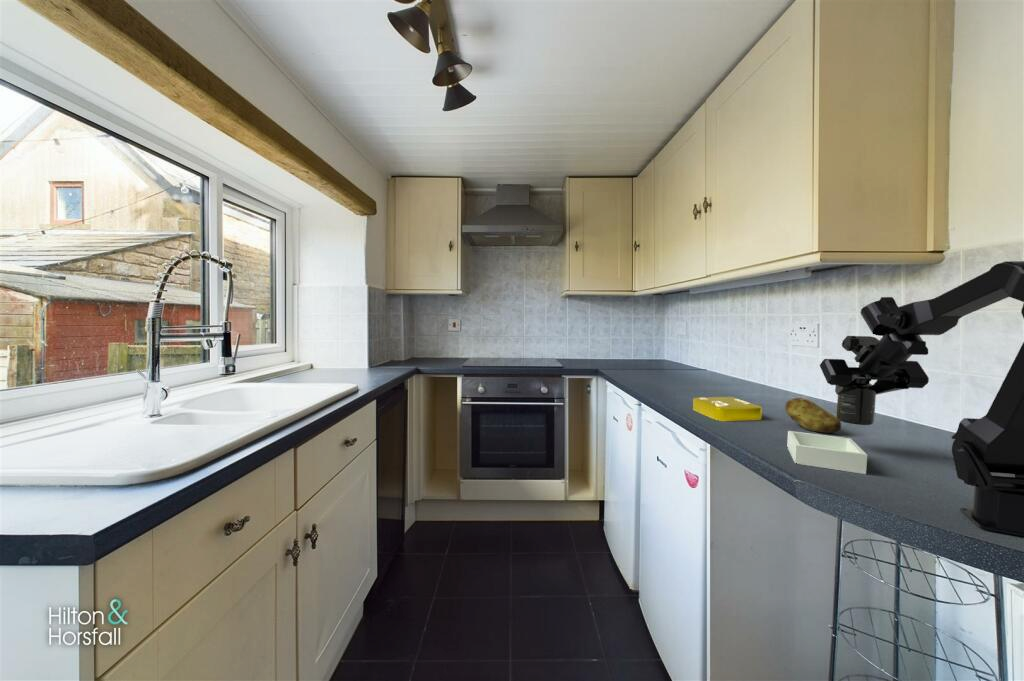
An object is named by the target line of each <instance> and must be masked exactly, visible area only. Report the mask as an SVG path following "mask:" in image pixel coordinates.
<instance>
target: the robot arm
mask: <svg viewBox="0 0 1024 681" xmlns="http://www.w3.org/2000/svg"><path fill="white" fill-rule="evenodd" d="M1008 298H1012V299H1014V300H1017V301H1020V302H1022V303H1023V304H1022V307H1021V312H1020V313H1021V316H1022V317H1023V319H1024V260H1023V261H1022V260H1020V261H1017V260H1016V261H1015V260H1014V261H1013V260H1012V261H1001V262H999V263H996V264H994V265H993V266H991V268H990V269H989V270H987V271H986V272H983V273H982V274H979V275H978V276H976V277H974V278H973V277H972V279H970V280H968V281H966V282H963V283H962V284H960V285H958V286H956V287H954V288H952V289H950V290H948V291H946V292H944V293H942V294H940V295H938V296H936V297H934V298H930V299H925V300H919V301H914V302H910V303H906V304H903V305H901V306H899V305H898V304H897V302H896V300H895V299H894V297H893V296H881V297H880V299H879V300H876V301H872V302H870V303H869V304H867V305H865V306H863V307H862V308H861V310H860V315H861V317H862V318H863V321H864V322H865V324H866V325H867V327H868V328H869V330H870V332H871V333H872V335H875V336H882V337H881V338H880V339H879V338H876V337H874V336H870V335H868V336H866V335H861V336H860V335H847V336H845V337H844V339H843V340H842V343H841V347H842V348H843V349H845V351H846V352H852V353H853V354H854V355H855V357H854V358H853V359H854V360H855V362H856V363H858V367H856V366H854V367H853V366H852V367H851V366H848V364H847V362H846V360H845V359H843V358H824V359H823V360H822V361H821V362H820V364H819V367H820V370H821V372H822V374H823V376H824V378H825V380H826V382H827V384H829V385H831V386H835V387H834V388H835V389H834V392H835V394H836V395H838V394H840V393H843V392H845V391H847V390H849V389H851V388H853V387H854V385H853V383H852V381H853V380H854V379H855V378H868V380H871V381H872V380H873V381H875V382H874V383H873V384H872V385H873V386H874V387H875V388H876V396H877V395H882V394H886V393H890V392H896V391H901V390H908V389H910V388H912V389H923V388H924V387H925V386H926V385H928V383H929V382H930V378H929V375H927V373H926V371H925V370H924V369H923V367H922V365H921V364H920V363H919V362H918V360H917V361H916V360H908V359H910V357H912V355H913V356H916V355H917V356H919V355H920V356H921V355H922V356H926V355H927V356H928V355H929V348H928V347H927V342H926V340H923V338H922V337H921V336H940V335H944V334H945V333H947V332H948V331H950V330H951V329H954V328H955V327H957V325H958V323H959V320H960V319H961V318H963V317H965V316H967V315H970V314H972V313H974V312H977V311H979V310H981V309H984V308H986V307H988V306H991V305H993V304H995V303H998V302H1000V301H1002V300H1006V299H1008ZM951 439H952V440H953V442H952V446H951V453H952V459H953V463H954V467H955V472H956V476H957V479H960V480H961V481H963V483H964V484H965V485H968V486H972V487H973V496H972V504H971V508H966V507H965V508H964V507H960V508H959V511H960V513H962V514H963V515H964V516H965V517H967V518H968V519H969V520H970V521H971V522H972V523H974V524H975V525H976V526H977V527H979V528H980V529H983V530H986V531H991V532H998V533H1004V534H1008V535H1014V536H1019V537H1024V341H1023V342H1022V344H1021V346H1020V348H1019V350H1018V352H1017V354H1016V356H1015V357H1014V360H1013V362H1012V364H1011V366H1010V368H1009V370H1008V371H1007V374H1006V375H1005V378H1004V379H1003V381H1002V384H1001V385H1000V387H999V389H998V391H997V393H996V395H995V397H994V399H993V401H992V403H991V405H990V406H989V409H988V411H987V413H986V414H985V415H984V416H982V417H980V418H970V417H964V418H962V419H961V420H960V421H959V423H958V427H957V430H956V431H955V433H954V434H953V435H952V436H951ZM993 474H1004V475H1014V476H1002V475H1001V476H1000V475H993Z"/></svg>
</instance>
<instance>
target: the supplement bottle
mask: <svg viewBox="0 0 1024 681" xmlns="http://www.w3.org/2000/svg"><path fill="white" fill-rule="evenodd" d="M871 381H872V380H868V378H855V379H854V380H853V381H852V383H853V385H854V387H853V388H851V389H849V390H847V391H845V392H843V393H840V394H837V402H836V404H837V405H836V417H837V419H838V420H839V421H840V422H842V423H846V424H849V425H857V426H871V425H873V424H874V423H875V414H876V411H875V410H876V398H877V395H876V388H875V387H874V386H873V384H872V383H871Z"/></svg>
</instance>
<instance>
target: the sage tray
mask: <svg viewBox="0 0 1024 681" xmlns="http://www.w3.org/2000/svg"><path fill="white" fill-rule="evenodd" d="M786 444H787V445H786V446H787V447H788V448H787V447H786V448H787V450H788V452H789V454H790V456H791V458H792V460H793V462H794V464H796V463H797V465H803V466H810V467H815V468H824V469H828V470H829V469H830V470H836V471H837V470H838V471H843V472H849V473H856V474H861V475H866V474H867V466H868V465H867V464H868V454H867V453H866V451H864V450H863V449H862V448H861V447H860V446H859V445H858V444H857V443H856V442H855V441H854V440H853V439H852V438H851V437H843V436H842V437H841V436H834V435H825V434H817V433H808V432H801V431H792V430H787V442H786Z"/></svg>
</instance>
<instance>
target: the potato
mask: <svg viewBox="0 0 1024 681" xmlns="http://www.w3.org/2000/svg"><path fill="white" fill-rule="evenodd" d="M784 405H785V406H784V408H785V409H784V410H785V412H786V414H787V415H788V416H789V417H790V419H792V421H794V422H795V423H797V424H798V425H800V427H802V428H804V429H805V430H809V431H811V432H816V433H817V432H818V433H823V434H825V433H828V434H834V433H837V432H839V431H841V428H842V423H841V422H842V421H839V420H838V419H837V416H835V415H834V414H832V413H830V412H829V411H827V410H825V409H824V408H823V407H821V406H820V405H818V404H816V403H814V401H812V400H810V399H807V398H802V397H796V398H792V399H790V400H789V399H788V400H787V401H786V402H785V404H784Z"/></svg>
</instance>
